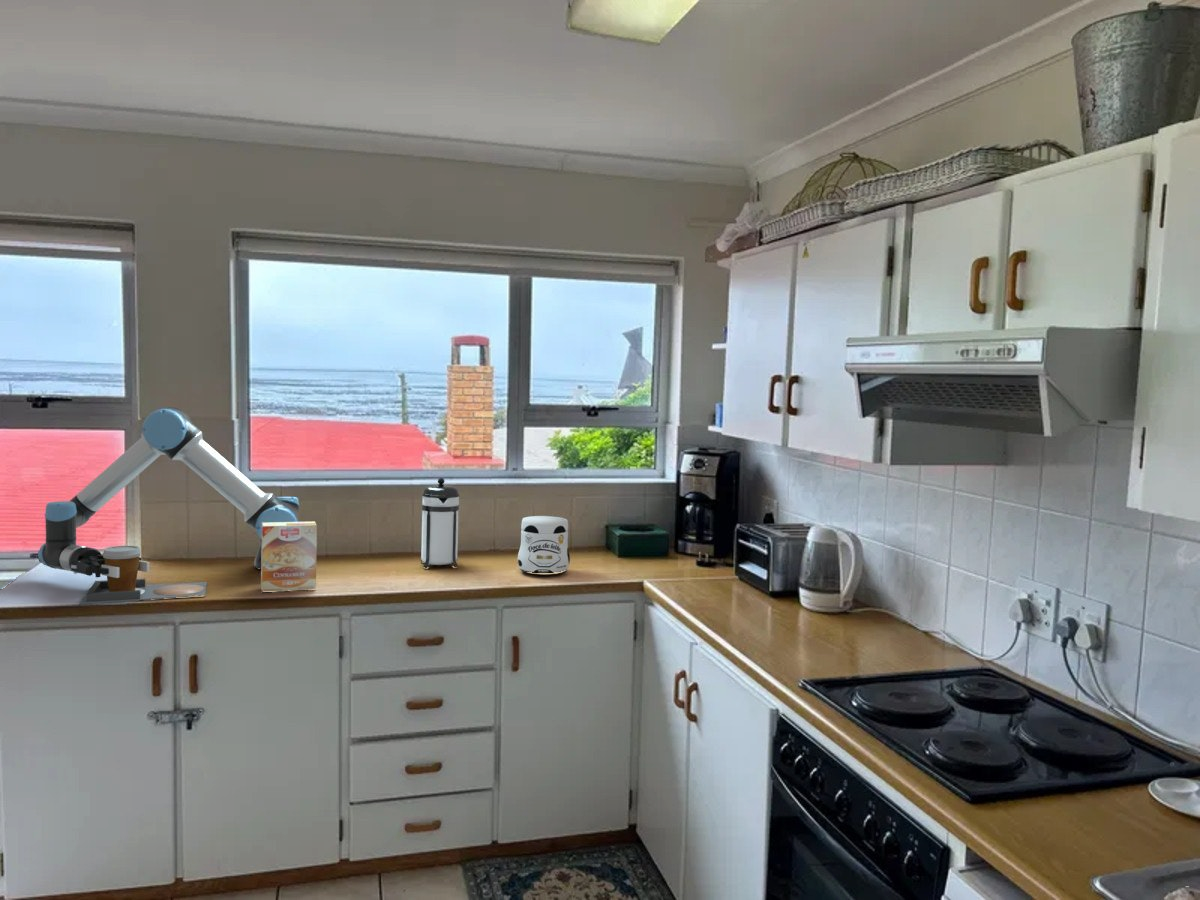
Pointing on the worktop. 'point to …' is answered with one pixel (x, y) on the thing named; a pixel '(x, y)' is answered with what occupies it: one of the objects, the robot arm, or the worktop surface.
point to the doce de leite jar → (544, 544)
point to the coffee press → (440, 524)
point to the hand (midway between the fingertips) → (133, 569)
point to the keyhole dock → (141, 592)
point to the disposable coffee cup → (122, 566)
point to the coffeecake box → (288, 556)
